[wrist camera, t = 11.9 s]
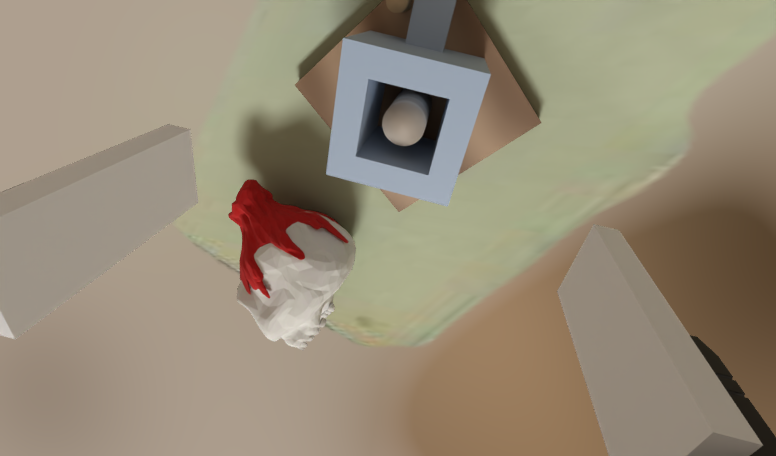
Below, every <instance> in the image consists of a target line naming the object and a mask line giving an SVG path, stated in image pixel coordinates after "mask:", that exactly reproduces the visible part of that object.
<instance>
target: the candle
mask: <svg viewBox="0 0 776 456" xmlns="http://www.w3.org/2000/svg"><path fill="white" fill-rule="evenodd" d="M229 218H230V219H231V220H233V221H234V222H235V223H237V224H238V225H239V226H240V228H241V232H242V251H241V256H240V280H241V283H240V284H239V286H238V288H237V301H238V303H239V304H241V305H243V306H244V307H245V308H247V309H248V310H249V311H250V312H251V314H252V316H253V317H254V319H255V321H256V323H257V324H258V326H259V328H260V329H261V331H262V332H263V333H264V335H265V336H266V338H268V339H270V340H272V341H277V340H278V339H279V338H283V339H284V341H285V343H286V344H287V345H289V346H292V347H297V348H299V349H301V350H304V349H305V347H306V346H307V343H306V342H305V341H312V339H313V338H314V335H317V334H318V333H319V331H320V329H319V328H318V327H324V326H325V324H326V319H324V318H326V317H327V316H328V315H330V314H331V313H332V312H333V311H334V309H335V306H334V304H333V294H334V293H335V292H336V291H337V290H338V289H339V288H340V286H341V285H342V283H343V282H344V280H345V279H346V277H347V276H348V274H349V273H350V271H351V270H352V268H353V265H354V261H355V252H356V247H355V242H354V240H353V238H352V236H351V235H350V234H349V233H348V232H347V230H345V229H344V228H343V227H341V226H340V225H339V224H338V223H337V222H336V221H335V220H334V219H333V218H331V217H329V216H327V215H326V214H323V213H319V212H316V211H309V210H303V209H301V208H299V207H296V206H292V205H282V204H280V203H278V202H276V201H274V200H273V196H272V194H271V193H270V192H269V191H267V190H266V189H264V188H263V187H262V186H261V185H260V184H259V183H258V182H257V181H256V180H247V181H245V183H244V184H243V186H242V187H241V189H240V191H239V192H238V194H237V197H236V201H235V202H234V203H232V212H230V213H229Z"/></svg>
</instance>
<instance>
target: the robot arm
mask: <svg viewBox="0 0 776 456" xmlns="http://www.w3.org/2000/svg"><path fill="white" fill-rule="evenodd" d="M197 203H198V196H197V187H196V177H195V168H194V159H193V150H192V140H191V132H190V129H187V128H183V127H179V126H174V125H170V124H167V125H165V126H162V127H160V128H158V129H155V130H153V131H150V132H148V133H145V134H143V135H140V136H138V137H136V138H133V139H131V140H128V141H126V142H123V143H121V144H118V145H116V146H114V147H111V148H109V149H106V150H104V151H101V152H99V153H96V154H94V155H92V156H89V157H87V158H84V159H82V160H79V161H77V162H74V163H72V164H69V165H67V166H65V167H62V168H60V169H57V170H55V171H52V172H50V173H47V174H45V175H43V176H40V177H38V178H35V179H33V180H30V181H28V182H25V183H22V184H20V185H17V186H15V187H12V188H10V189H8V190H5V191H3V192H1V193H0V335H2V336H5V337H9V338H13V339H16V338H18V337H19V336H20V335H22V334H23V333H24V332H25V331H27V330H28V329H30V328H31V327H32V326H34V325H35V324H36V323H38V322H39V321H40V320H42V319H43V318H44V317H46V316H47V315H48V314H50V313H51V312H52V311H54V310H55V309H56V308H58V307H59V306H60V305H62V304H63V303H64V302H66V301H67V300H68V299H70V298H71V297H72V296H74V295H75V294H76V293H78V292H79V291H80V290H82V289H83V288H85V287H86V286H87V285H89V284H90V283H91V282H93V281H94V280H95V279H97V278H98V277H99V276H100V275H102V274H103V273H104V272H106V271H107V270H109V269H110V268H111V267H113V266H114V265H115V264H117V263H118V262H119V261H121V260H122V259H123V258H125V257H126V256H127V255H129V254H130V253H131V252H133V251H134V250H135V249H137V248H138V247H139V246H141V245H142V244H143V243H145V242H146V241H147V240H149V239H150V238H151V237H153V236H154V235H155V234H157V233H158V232H159V231H161V230H162V229H164V228H165V227H166V226H167V225H169V224H170V223H172V222H173V221H174V220H176V219H177V218H178V217H180V216H181V215H182V214H184V213H185V212H186V211H188V210H189V209H190V208H192V207H193V206H194V205H196V204H197ZM557 292H558V296H559V298H560V302H561V305H562V308H563V311H564V315H565V318H566V321H567V324H568V327H569V331H570V334H571V336H572V340H573V343H574V346H575V350H576V352H577V356H578V359H579V362H580V366H581V369H582V372H583V375H584V378H585V381H586V385H587V388H588V391H589V394H590V397H591V400H592V403H593V407H594V410H595V413H596V416H597V419H598V423H599V426H600V429H601V432H602V435H603V439H604V442H605V445H606V448H607V451H608V454H609V456H776V437H775V435H774V434H773V433H772V431H771V430H770V428H769V427H768V426H767V424H766V423H765V421H764V420H763V419H762V417H761V416H760V414H759V413H758V412H757V410H756V409H755V407H754V406H753V405H752V403H751V402H750V400H749V399H748V398H745V397H744V395H745V393H744V392H743V390H742V389H741V388H740V386H739V385H738V383H737V382H736V381H734V380H732V377H733V376H732V375H731V374H730V372H729V371H728V369H727V368H726V367H725V365H724V364H723V363H722V361H721V360H720V358H719V357H718V356H717V355H716V354H715V353H714V352H713V351H712V350H711V349H710V348H709V347H707V346H706V345H705V344H704V343H703V342H702V341H701V340H700V339H699V338H698V337H695V336H691V335H689V334H688V332H687V331H686V330H685V328H684V326H683V325H682V323H681V322H680V320H679V319H678V317H677V316H676V315H675V313H674V312H673V310H672V309H671V307H670V306H669V304H668V303H667V301H666V300H665V298H664V297H663V295H662V294H661V292H660V291H659V289H658V288H657V286H656V285H655V283H654V282H653V280H652V279H651V277H650V276H649V274H648V273H647V271H646V270H645V268H644V267H643V265H642V264H641V262H640V261H639V259H638V258H637V256H636V255H635V253H634V252H633V250H632V249H631V247H630V246H629V245H628V243H627V241H626V240H625V239H624V237H623V235H622V234H621V232H620V231H619V230H616V229H612V228H607V227H603V226H599V225H595V224H594V225H593V227H592V229H591V231H590V232H589V234H588V236H587V238H586V240H585V241H584V243H583V245H582V247H581V249H580V250H579V252H578V254H577V256H576V258H575V260H574V261H573V264H572V265H571V267H570V269H569V271H568V273H567V274H566V276H565V278H564V280H563V282H562V284H561V285H560V287H559V289H558V291H557Z"/></svg>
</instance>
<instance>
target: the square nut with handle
mask: <svg viewBox="0 0 776 456" xmlns="http://www.w3.org/2000/svg"><path fill="white" fill-rule="evenodd" d="M456 1H457V0H414V3H413V8H412V13H411V18H410V23H409V28H408V33H407V38H406V39H403V38H399V37H395V36H391V35H387V34H383V33H379V32H375V31H371V30H370V31H367V32H363V33H359V34H356V35H352V36H348V37H344V38H343V42H342V50H341V58H340V66H339V74H338V82H337V90H336V98H335V106H334V114H333V122H332V130H331V138H330V146H329V154H328V162H327V170H326V175H330V176H333V177H337V178H341V179H345V180H349V181H352V182H356V183H360V184H364V185H368V186H372V187H375V188H379V189H383V190H387V191H391V192H394V193H398V194H402V195H406V196H410V197H414V198H417V199H421V200H425V201H429V202H433V203H436V204H440V205H444V206H448V204H449V201H450V198H451V195H452V192H453V189H454V186H455V183H456V180H457V177H458V173H459V170H460V167H461V164H462V161H463V158H464V155H465V152H466V149H467V146H468V143H469V140H470V137H471V134H472V131H473V128H474V125H475V122H476V118H477V115H478V112H479V109H480V106H481V103H482V100H483V97H484V94H485V91H486V88H487V85H488V82H489V79H490V76H491V73H490V71H489V68H488V66H487V63H486V61H485V58H481V57H477V56H473V55H469V54H465V53H461V52H456V51H452V50H448V49H444V48H445V44H446V40H447V36H448V32H449V28H450V24H451V20H452V17H453V13H454V9H455V5H456ZM386 83H387V84H391V85H395V86H399V87H403V88H407V89H411V90H415V91H419V92H423V93H427V94H431V95H435V96H439V97H443V98H447V101H446V105H445V108H444V112H443V116H442V119H441V123H440V126H439V130H438V134H437V137H436V141H435V140H431V139H427V138H424V137H421V138H420V139H419V141H417V142H416V143H414V144H412V145H409V146H399V145H396V144H394V143H392V142H391V141H390V140H389V139H388V138H387V137H386V135H385V134H384V131H383V127H380V126H378V121H379V115H380V110H381V105H382V100H383V94H384V89H385V84H386Z"/></svg>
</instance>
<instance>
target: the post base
mask: <svg viewBox="0 0 776 456" xmlns="http://www.w3.org/2000/svg"><path fill="white" fill-rule="evenodd" d="M413 3H414V0H412V5H411V7H410V9H409V10H408V11H406V12H400V13H393V12H391V11H390V10H389V9H388V7H387V5H386V0H383V1H382V2H381V3H380V4H379V5H378V6H377V7H376V8H375V9H374V10H373V11H372V12H371V13H370V14H369V15H367V16H366V17H365V18H364V19H363V20H362V21H361V22H360V23H359V24H358V25H357V26H356V27H355V28H354V29H353V30H352V31H351V32H350V33H349V34H348V35H347V36H345V37H348V36H352V35H356V34H359V33H363V32H367V31H370V30H371V31H375V32H379V33H383V34H387V35H391V36H395V37H399V38H403V39H406V38H407V33H408V28H409V23H410V18H411V13H412V8H413ZM342 42H343V39H342V40H341V41H340V42H339V43H338V44H337V45H336V46H335V47H334V48H333V49H332V50H331V51H330V52H329V53H328V54H327V55H326V56H325V57H323V58H322V59H321V60H320V61H319V62H318V63H317V64H316V65H315V66H314V67H313V68H312V69H311V70H310V71H309V72H308V73H307V74H306V75H305V76H304V77H303V78H301V79H300V80H299V81H298V82H297V83H296V84H295V86H296V87H297V88H298V90H299V91H300V92H301V93H302V95H303V96H304V97H305V98H306V99H307V101H308V102H309V103H310V104H311V105H312V107H313V108H314V109H315V110H316V112H317V113H318V114H319V115H320V116H321V118H322V119H323V120H324V121H325V123H326V124H327V125H328V126H329V127H330V129H331V130H332V122H333V114H334V106H335V98H336V90H337V82H338V74H339V66H340V58H341V50H342ZM444 49H448V50H452V51H456V52H461V53H465V54H469V55H473V56H477V57H481V58H485V61H486V63H487V66H488V68H489V71H490V73H491V76H490V79H489V82H488V85H487V88H486V91H485V94H484V97H483V100H482V103H481V106H480V109H479V112H478V115H477V118H476V122H475V125H474V128H473V131H472V134H471V137H470V140H469V143H468V146H467V149H466V152H465V155H464V158H463V161H462V164H461V167H460V170H459V173H458V175H459V174H460V173H462V172H464V171H465V170H467V169H468V168H470V167H472V166H473V165H475V164H476V163H478V162H480V161H481V160H483V159H484V158H486V157H488V156H489V155H491V154H492V153H494V152H495V151H497V150H499V149H500V148H502V147H503V146H505V145H507V144H508V143H510V142H511V141H513V140H515V139H516V138H518V137H519V136H521V135H523V134H524V133H526V132H527V131H529V130H531V129H532V128H534V127H535V126H537V125H539V124H540V123H541V121H540V120H539V118H538V116H537V115H536V113H535V111H534V110H533V108H532V106H531V105H530V103H529V101H528V100H527V98H526V97H525V95H524V93H523V92H522V90H521V88H520V87H519V85H518V83H517V82H516V80H515V78H514V77H513V75H512V74H511V72H510V70H509V69H508V67H507V65H506V64H505V62H504V60H503V59H502V57H501V55H500V54H499V52H498V51H497V49H496V47H495V46H494V44H493V42H492V41H491V39H490V37H489V36H488V34H487V32H486V31H485V29H484V28H483V26H482V24H481V23H480V21H479V19H478V18H477V16H476V14H475V13H474V11H473V9H472V8H471V6H470V4H469V3H468V1H467V0H457V1H456V5H455V9H454V13H453V17H452V20H451V24H450V28H449V32H448V36H447V40H446V44H445V48H444ZM446 101H447V98H443V97H439V96H435V95H431V94H427V93H423V92H419V91H415V90H411V89H407V88H403V87H399V86H395V85H391V84H387V83H386V84H385V89H384V94H383V100H382V105H381V110H380V115H379V121H378V126H380V127H383V131H384V134H385V135H386V137H387V138H388V139H389V140H390V141H391V142H392V143H394V144H396V145H399V146H409V145H412V144H414V143H416V142H417V141H419V139H420V138H421V137H424V138H427V139H431V140H435V141H436V137H437V134H438V130H439V126H440V123H441V119H442V116H443V112H444V108H445V105H446ZM380 190H381V191H382V192H383V193H384V194H385V196H386V197H387V198H388V199H389V201H390V202H391V203H392V204H393V205H394V207H395V208H396V209H397V210H398V212H400V211H401V210H403V209H405V208H406V207H408V206H409V205H411V204H413V203H414V202H416V201H417V200H419V199H417V198H414V197H410V196H406V195H402V194H398V193H394V192H391V191H387V190H383V189H380Z"/></svg>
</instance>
